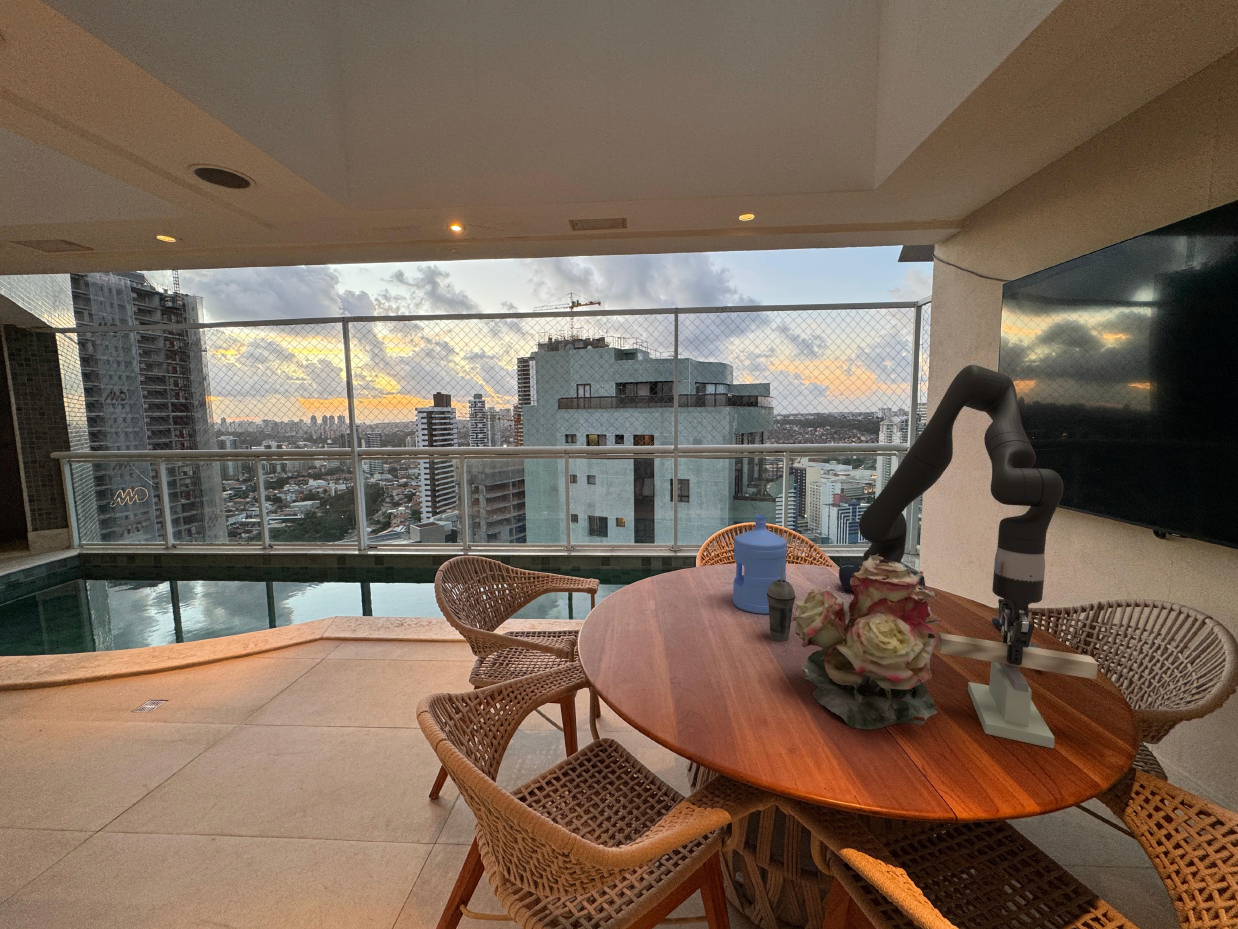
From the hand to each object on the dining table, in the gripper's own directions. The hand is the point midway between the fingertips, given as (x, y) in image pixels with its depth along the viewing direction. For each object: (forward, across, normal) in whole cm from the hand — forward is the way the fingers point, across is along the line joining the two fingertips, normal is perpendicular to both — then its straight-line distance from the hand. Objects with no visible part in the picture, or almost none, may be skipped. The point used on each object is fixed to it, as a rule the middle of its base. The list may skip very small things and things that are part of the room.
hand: (1011, 659), depth 98 cm
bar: (+1, 0, 0) cm, 1 cm away
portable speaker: (+12, +64, +20) cm, 68 cm away
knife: (+12, +38, -10) cm, 41 cm away
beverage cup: (+12, +18, +45) cm, 50 cm away
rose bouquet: (+12, -4, +24) cm, 28 cm away
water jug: (+12, +39, +54) cm, 68 cm away
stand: (+12, 0, 0) cm, 12 cm away
